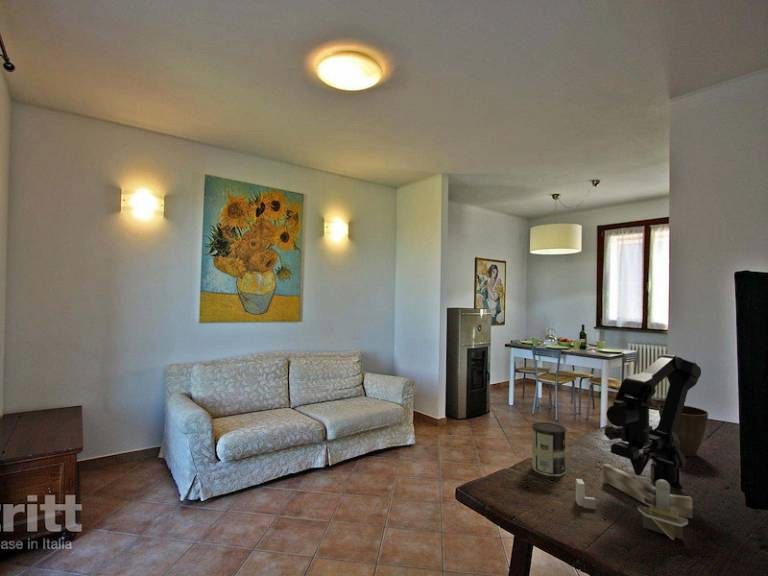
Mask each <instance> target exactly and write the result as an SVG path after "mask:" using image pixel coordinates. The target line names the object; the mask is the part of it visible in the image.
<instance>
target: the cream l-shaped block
mask: <svg viewBox="0 0 768 576" xmlns="http://www.w3.org/2000/svg"><path fill="white" fill-rule="evenodd" d="M585 487H586V485H585V482H584V481H583V479H582V478H581V479H580V478H575V501H576V504H577V506H579V507H583V508H585V509H592V510H595V509H596V499H595V497H592V496H586V495H585V493H586V489H585Z"/></svg>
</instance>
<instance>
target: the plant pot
mask: <svg viewBox="0 0 768 576" xmlns="http://www.w3.org/2000/svg"><path fill="white" fill-rule="evenodd" d="M663 407H664V404H659V405H658V406H657V409H658V414H659V418H660V417H661V414H662V410H663ZM708 419H709V412H708V411H707V410H704V409H702V408H699V407H698V408H697V407H694V406H688V405H684V407H683V411H682V414H681V418H680V422H679V426H678V429H677V437H678V440H679V442H680V451H681V452H682V454H683V455H684V457H695V456H696V455H697V454H698V451H699V449H700V446H701V445H702V442H703V439H704V435H705V432H706V428H707V422H708Z"/></svg>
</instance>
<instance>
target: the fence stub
mask: <svg viewBox="0 0 768 576" xmlns="http://www.w3.org/2000/svg"><path fill="white" fill-rule="evenodd" d="M670 510H673V511H677V512H678V517H682V518H685V519H688V518H689V519H693V517H694V516H693V498H692V497H691V496H687V495H681V494H680V495H679V494H671V493H670Z"/></svg>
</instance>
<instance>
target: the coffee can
mask: <svg viewBox="0 0 768 576" xmlns="http://www.w3.org/2000/svg"><path fill="white" fill-rule="evenodd" d="M531 429H532V469H533V471H535V472H536V473H538V474H540V475H543V476H547V477H561V476H562V477H563V476H564V475H566V473H567V472H566V430H567V429H566V427H564V426H563V425H560V424H557V423H553V422H547V421H546V422H545V421H542V422H534V423H532V425H531Z"/></svg>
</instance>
